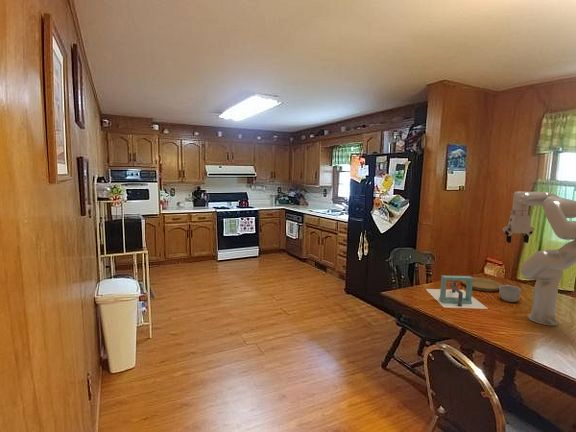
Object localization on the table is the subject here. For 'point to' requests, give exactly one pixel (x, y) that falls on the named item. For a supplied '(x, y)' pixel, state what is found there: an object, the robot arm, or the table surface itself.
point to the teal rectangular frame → (454, 299)
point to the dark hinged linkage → (454, 289)
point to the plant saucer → (484, 284)
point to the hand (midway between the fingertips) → (517, 242)
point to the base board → (449, 293)
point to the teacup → (509, 293)
